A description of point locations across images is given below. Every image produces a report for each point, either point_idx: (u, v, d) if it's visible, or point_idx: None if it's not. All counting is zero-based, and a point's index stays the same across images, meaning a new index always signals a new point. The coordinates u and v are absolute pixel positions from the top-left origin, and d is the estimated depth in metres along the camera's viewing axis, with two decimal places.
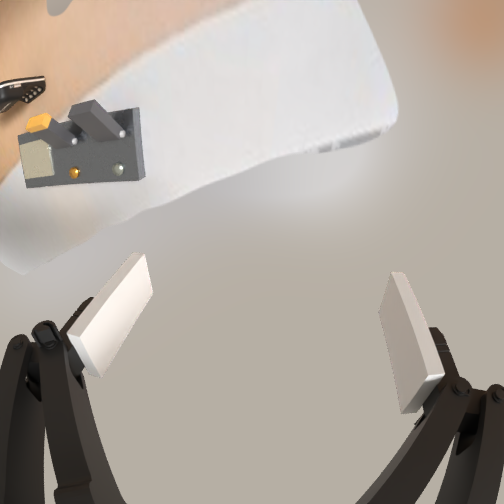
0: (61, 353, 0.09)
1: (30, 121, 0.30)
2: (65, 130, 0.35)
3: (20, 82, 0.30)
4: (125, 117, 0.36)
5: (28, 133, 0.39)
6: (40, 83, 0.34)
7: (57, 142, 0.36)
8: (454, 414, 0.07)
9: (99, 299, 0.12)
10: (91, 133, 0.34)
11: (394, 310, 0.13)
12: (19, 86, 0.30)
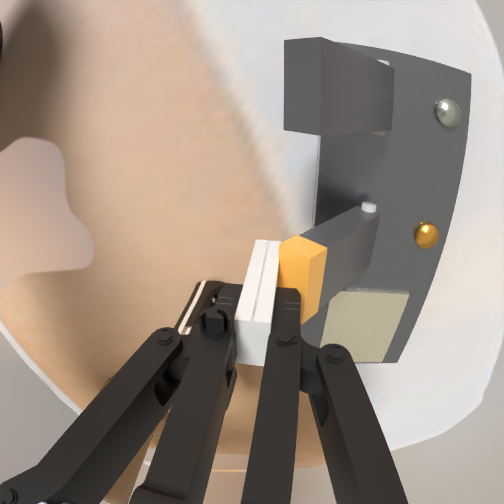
0: (224, 349, 0.10)
1: None
2: (340, 217, 0.17)
3: (183, 326, 0.22)
4: None
5: (303, 335, 0.27)
6: (209, 289, 0.26)
7: (362, 248, 0.18)
8: (289, 364, 0.09)
9: (251, 283, 0.13)
10: (374, 122, 0.13)
11: None
12: (190, 330, 0.22)
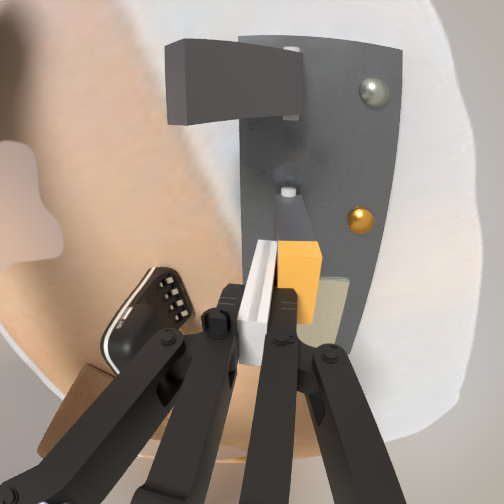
0: (227, 349, 0.10)
1: None
2: (281, 210, 0.17)
3: (126, 306, 0.23)
4: None
5: None
6: (156, 274, 0.27)
7: None
8: (286, 364, 0.09)
9: (254, 283, 0.13)
10: (272, 107, 0.15)
11: None
12: (131, 310, 0.23)
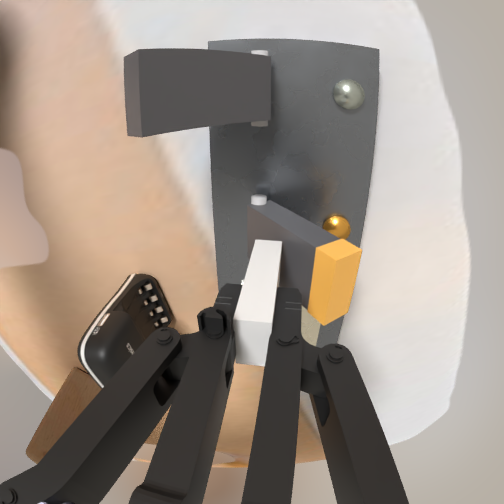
0: (223, 349, 0.10)
1: (334, 312, 0.15)
2: (275, 218, 0.17)
3: (103, 313, 0.23)
4: None
5: None
6: (135, 281, 0.27)
7: None
8: (290, 364, 0.09)
9: (251, 283, 0.13)
10: (235, 113, 0.14)
11: None
12: (108, 316, 0.22)
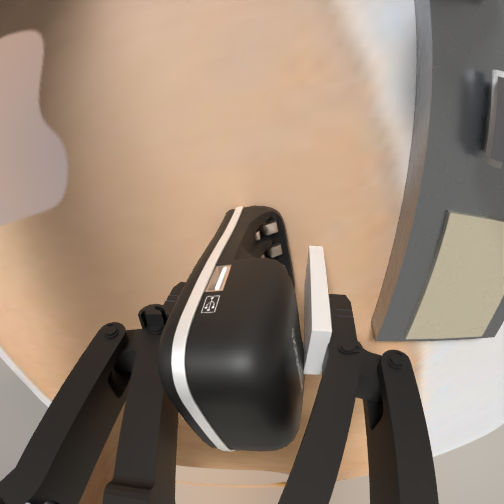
0: None
1: None
2: None
3: (212, 265, 0.11)
4: None
5: (395, 297, 0.16)
6: (250, 215, 0.15)
7: None
8: (348, 373, 0.09)
9: None
10: None
11: (308, 279, 0.15)
12: (227, 272, 0.11)
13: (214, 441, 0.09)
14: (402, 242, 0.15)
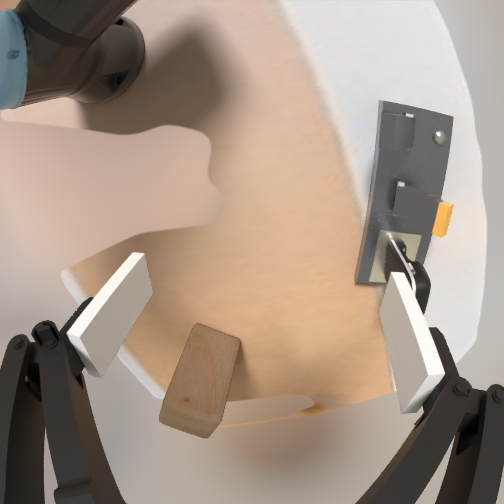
0: (61, 353, 0.09)
1: (443, 231, 0.31)
2: (415, 192, 0.33)
3: (405, 262, 0.35)
4: (390, 111, 0.32)
5: (362, 262, 0.44)
6: (399, 245, 0.39)
7: None
8: (454, 414, 0.07)
9: (99, 299, 0.12)
10: (407, 144, 0.30)
11: (394, 310, 0.13)
12: (410, 264, 0.35)
13: None
14: (363, 241, 0.43)
